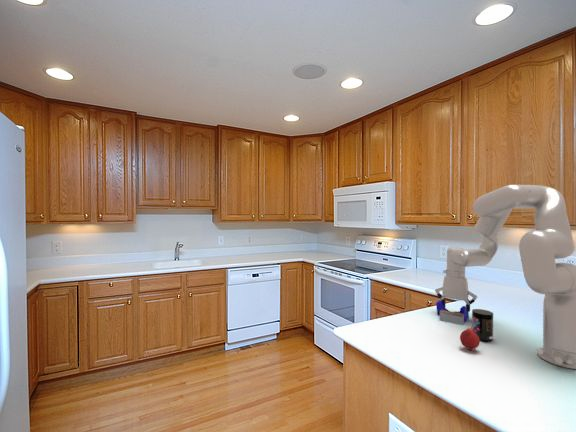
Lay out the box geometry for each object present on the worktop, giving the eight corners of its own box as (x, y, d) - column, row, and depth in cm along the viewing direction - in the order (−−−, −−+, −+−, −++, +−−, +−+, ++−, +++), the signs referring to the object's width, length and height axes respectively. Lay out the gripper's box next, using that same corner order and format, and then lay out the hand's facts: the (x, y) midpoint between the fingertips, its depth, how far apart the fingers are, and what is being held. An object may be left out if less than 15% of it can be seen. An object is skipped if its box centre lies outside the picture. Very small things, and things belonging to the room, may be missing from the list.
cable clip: (468, 317, 130) (467, 305, 129) (465, 322, 127) (463, 309, 126) (441, 310, 139) (440, 299, 138) (437, 314, 136) (436, 302, 136)
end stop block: (462, 325, 123) (462, 315, 123) (439, 320, 129) (439, 311, 129) (464, 323, 125) (464, 314, 125) (441, 318, 131) (441, 309, 131)
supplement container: (476, 333, 114) (476, 307, 114) (496, 340, 108) (496, 312, 108) (468, 338, 110) (468, 311, 110) (488, 344, 105) (489, 316, 105)
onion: (472, 355, 96) (472, 331, 96) (456, 348, 102) (456, 325, 102) (483, 352, 99) (483, 329, 99) (467, 345, 104) (467, 323, 104)
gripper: (433, 272, 137) (432, 308, 137) (476, 278, 126) (475, 317, 126) (437, 270, 143) (437, 304, 143) (478, 275, 131) (478, 312, 131)
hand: (455, 310), depth 134 cm, fingers open, 9 cm apart
